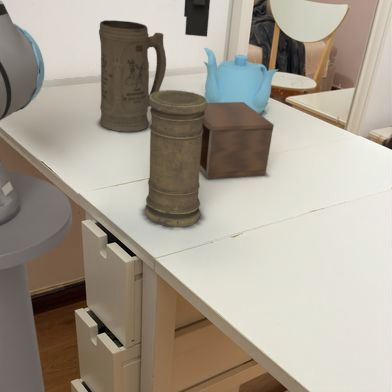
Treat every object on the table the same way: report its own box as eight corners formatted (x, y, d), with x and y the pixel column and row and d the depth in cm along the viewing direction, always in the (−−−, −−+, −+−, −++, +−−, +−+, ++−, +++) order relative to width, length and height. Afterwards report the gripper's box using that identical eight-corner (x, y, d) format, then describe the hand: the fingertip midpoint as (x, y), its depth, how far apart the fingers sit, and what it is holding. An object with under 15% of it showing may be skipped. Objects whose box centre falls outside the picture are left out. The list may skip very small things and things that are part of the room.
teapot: (199, 117, 128) (203, 60, 120) (200, 96, 142) (204, 44, 134) (270, 123, 128) (279, 67, 120) (264, 101, 142) (272, 50, 134)
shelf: (207, 179, 99) (212, 126, 93) (184, 151, 109) (187, 103, 103) (265, 175, 103) (273, 124, 97) (237, 149, 113) (243, 101, 107)
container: (198, 230, 83) (208, 109, 72) (141, 224, 83) (142, 103, 72) (201, 205, 90) (211, 92, 78) (148, 200, 90) (151, 86, 78)
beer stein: (116, 135, 113) (120, 27, 101) (87, 121, 119) (88, 17, 107) (170, 129, 122) (180, 29, 110) (142, 116, 128) (148, 20, 116)
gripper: (257, -216, 48) (229, 47, 62) (234, -183, 67) (217, 13, 81) (175, -226, 48) (165, 41, 61) (175, -190, 67) (167, 8, 80)
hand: (194, 25), depth 71 cm, fingers open, 13 cm apart
